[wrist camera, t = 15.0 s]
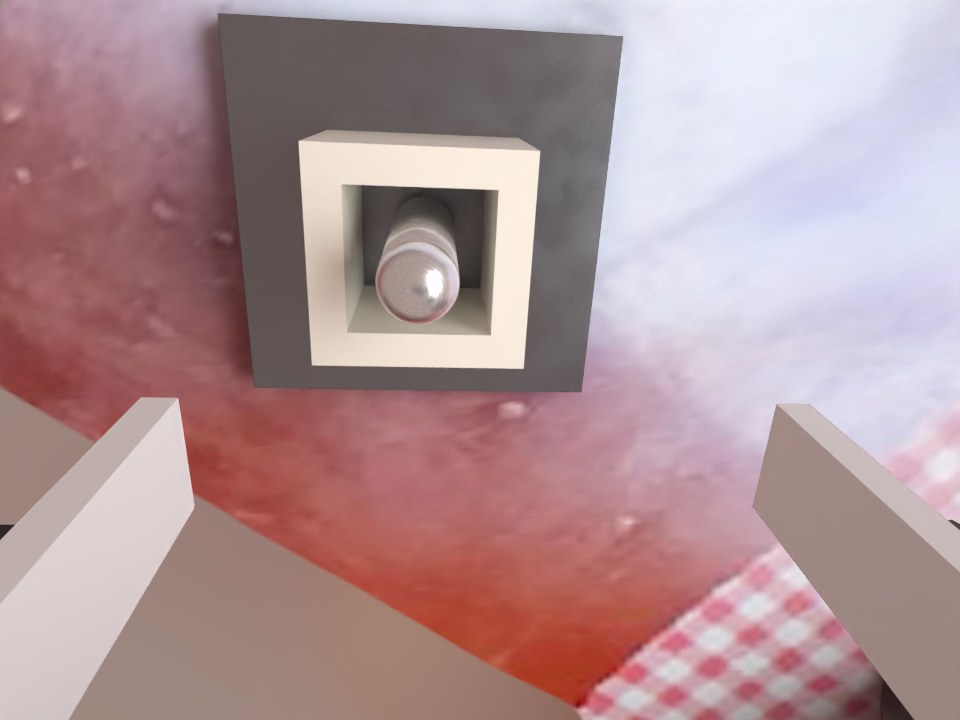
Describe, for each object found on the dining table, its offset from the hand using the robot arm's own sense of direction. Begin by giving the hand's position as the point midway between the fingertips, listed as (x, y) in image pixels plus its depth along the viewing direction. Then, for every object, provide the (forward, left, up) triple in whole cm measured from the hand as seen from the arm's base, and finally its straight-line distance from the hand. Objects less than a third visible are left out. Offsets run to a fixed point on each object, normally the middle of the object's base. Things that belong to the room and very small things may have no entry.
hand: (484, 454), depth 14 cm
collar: (+1, +2, -20) cm, 20 cm away
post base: (+1, +2, -22) cm, 22 cm away
